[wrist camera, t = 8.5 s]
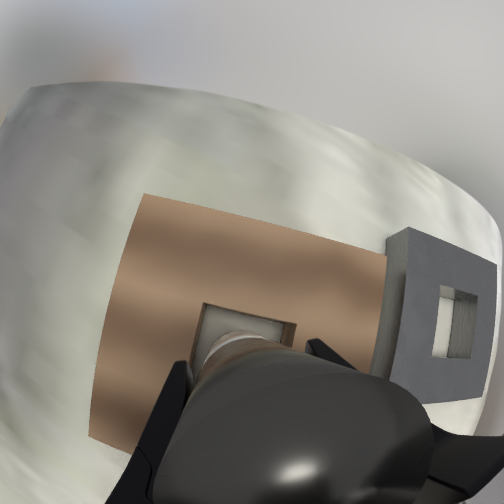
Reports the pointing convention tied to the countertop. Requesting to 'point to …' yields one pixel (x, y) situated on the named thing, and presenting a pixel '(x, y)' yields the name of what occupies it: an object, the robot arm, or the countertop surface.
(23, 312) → the countertop surface
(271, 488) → the dark rounded cylinder
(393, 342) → the socket block
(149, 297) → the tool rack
